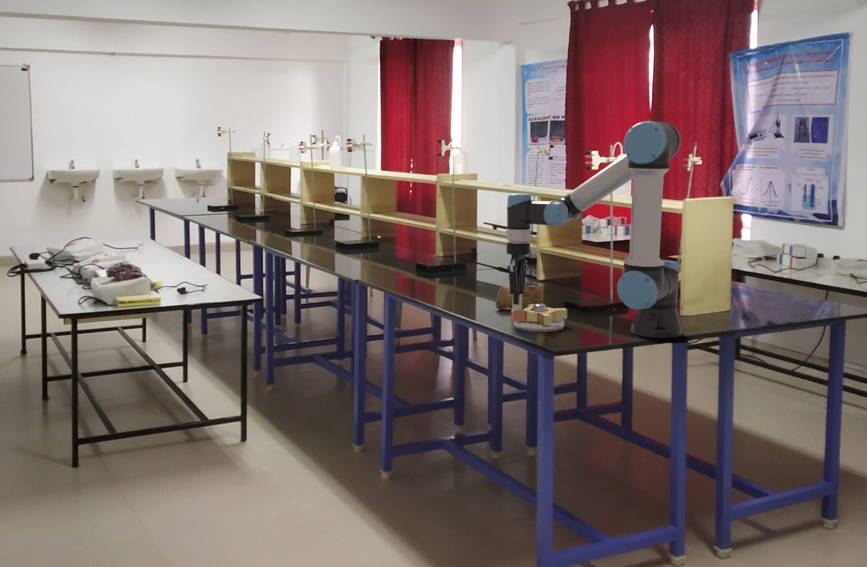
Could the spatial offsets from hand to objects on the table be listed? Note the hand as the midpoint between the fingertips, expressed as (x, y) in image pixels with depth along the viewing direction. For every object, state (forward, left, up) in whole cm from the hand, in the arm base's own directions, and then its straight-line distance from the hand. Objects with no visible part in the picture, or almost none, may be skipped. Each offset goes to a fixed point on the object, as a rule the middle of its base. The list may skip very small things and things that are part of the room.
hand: (517, 313), depth 277 cm
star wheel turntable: (-7, -3, -3) cm, 8 cm away
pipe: (+13, -16, -4) cm, 21 cm away
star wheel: (-7, -3, -1) cm, 8 cm away
